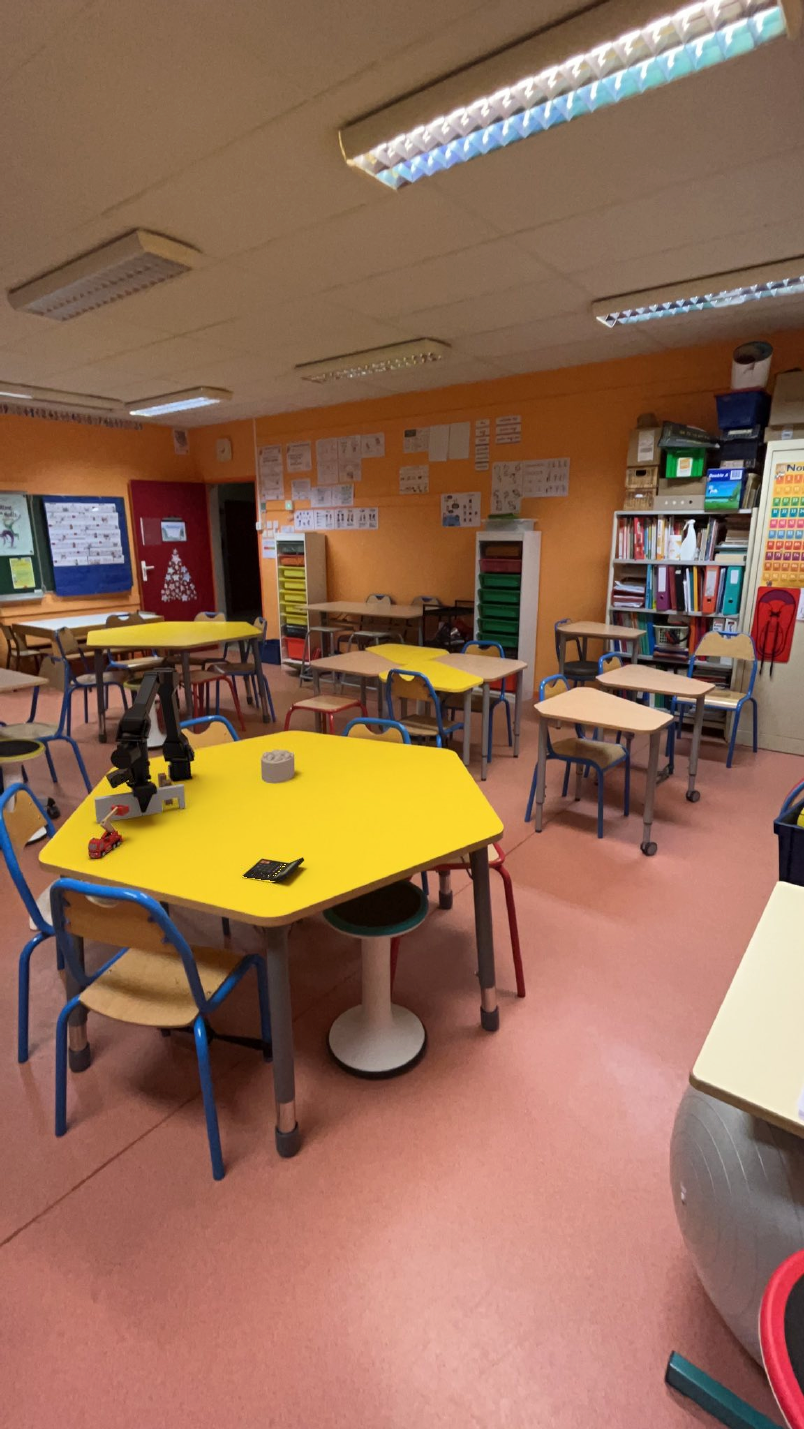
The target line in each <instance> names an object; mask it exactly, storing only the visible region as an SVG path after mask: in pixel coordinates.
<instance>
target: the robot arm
mask: <svg viewBox="0 0 804 1429" xmlns="http://www.w3.org/2000/svg"><path fill="white" fill-rule="evenodd" d="M142 674H143V675H142V681H141V683H140V686H139V689H138V691H137V694H136V697H135V700H134V702H133V704H132V705H131V707H129V708H127V709H126V710H125V711H124V713H123V714H122V716H121V718H120V719H119V722H118V726H117V731H116V734H115V735H116V736H115V739H114V740H115V741H114V742H115V743H117V744H116V749H114V750H113V751H112V753H110V754H111V755H110V757H109V758H110V762H111V764H112V766H114V767H115V768H116V769H114V770H113V771H111V772H108V773H107V774H105V777H106V780H107V782H108V784H109V785H110V787H111V789H117V787H119V786H120V785H123V784H126V787H128V788H130V790H131V791H130V792H131V794H132V795H133V797H136V798H137V799H138V803H139V806H140V810H141V813H145V812H146V810H147V808H148V805H149V803H150V800H151V798H152V796H153V795H154V794H157V788H158V786H156V784H155V782H153V781H151V780H152V775H151V774H150V766H151V762H150V760H149V759H150V758H149V748H148V747H149V746H148V739H150V737H149V736H150V732H151V728H152V720H151V717H150V712H151V710H152V707H153V704H154V702H155V700H156V696H158V697H159V701H160V707H161V712H162V713H161V714H162V719H163V724H164V730H165V735H166V737H165V738H164V741H163V743H162V745H161V747H162V755H163V760H164V762H165V763H168V762H169V764H168V765H167V771H168V772H167V773H168V775H167V776H168V777H169V779H170V781H171V782H179V781H186V780H192V779H193V778H194V777H193V776H192V767H191V766H192V765H191V762H194V761H195V751H194V749H193V747H192V746H191V744H190V741H189V738H188V737H187V735H185V734H184V733H183V731H182V727H181V721H180V714H179V708H178V703H177V696H176V691H177V689H178V687H179V684H180V672H179V671H178V669H176V668H174V667H153V669H152V670H146V671H144V672H143V673H142Z"/></svg>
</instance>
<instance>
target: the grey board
mask: <svg viewBox="0 0 804 1429" xmlns="http://www.w3.org/2000/svg"><path fill="white" fill-rule="evenodd" d="M131 792H132V791H128V792H121V793H115V794H110V795H102V796H97V797H94V798H93V800H94V809H95V817H96V818H95V819H96V823H97V824H100V823H101V821H102V819H105V818H106V817H107V816H108V815H109V814H110V813H111V812H112V811H111V806H115V805H126V806H129V812H128V813H127V814H125V815H124V816H119V815H114V816H113V817H112V818H111V819H110V820H109V822H112V821H120V820H127V819H131V818H136V817H137V818H138V817H143V816H148V815H153V814H154V813H155V814H159V813H160V814H161V813H163V812H164V810H163V800H169V799H173V800H174V799H177V802H178V809H180V810H183V809H182V808H184V809H186V799H185V798H186V797H185V785H184V784H183V783H181V784H180V783H178V784H174V785H173V784H172V786H166V787H160V788H159V787H157V794H154V795H153V796H152V798H151V800H150V803H149V805H148V808H147V810H146V812H145V813H141V810H140V806H139V803H138V799H137V798H136V797H133V795H132V794H131ZM155 814H154V815H155ZM142 815H143V816H142Z"/></svg>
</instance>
